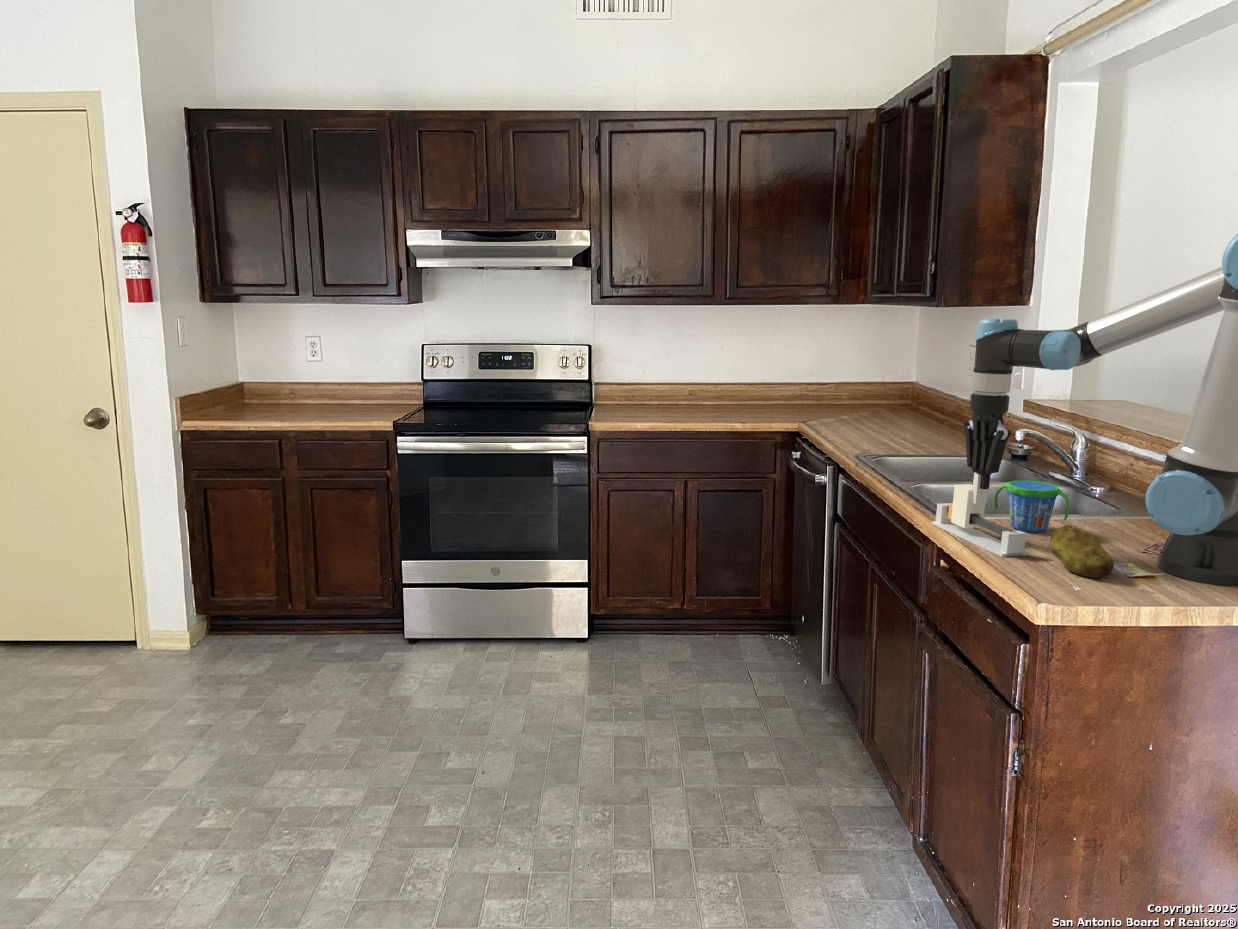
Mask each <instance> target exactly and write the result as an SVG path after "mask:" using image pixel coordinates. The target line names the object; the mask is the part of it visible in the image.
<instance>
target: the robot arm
mask: <svg viewBox="0 0 1238 929" xmlns="http://www.w3.org/2000/svg"><path fill="white" fill-rule="evenodd" d="M1223 311H1224V312H1223ZM1220 312H1223V315H1222V317H1221V321H1220V324H1219V325H1218V326H1219V327H1218V330H1217V331H1216V332H1217V333H1216V336H1215V339H1214V341H1213V345H1212V348H1211V351H1210V354H1209V357H1208V360H1207V363H1206V367H1205V369H1204V372H1203V375H1202V377H1201V381H1200V384H1199V388H1198V390H1197V394H1196V397H1195V400H1194V403H1193V405H1192V408H1191V412H1190V414H1189V418H1188V421H1187V424H1186V428H1185V430H1184V433H1183V436H1182V438H1181V441H1180V443H1179V444H1178V446H1177V445H1176V446H1174V447H1173V448H1170V449H1169V450H1168V451H1167V453H1166V456H1165V459H1164V462H1163V464H1162V468H1161V471H1160V474H1159V475H1158V476H1156V477H1155V478H1154V479H1153V481H1152V482H1151V483H1150V485H1149V486H1148V488H1147V491H1146V493H1145V505H1146V510H1147V512H1148V514H1149V516H1150V517H1151V518H1152V520H1153V522H1155V523H1156V525H1158V526H1159V527H1160V528H1162V529H1163V530H1165V531H1167V532H1170V533H1169V535H1168V537H1167V538H1166V540H1165V543H1164V544H1163V546H1162V549H1160V551H1159V552H1158V555H1157V559H1156V560H1157V561H1156V566H1157V568H1158V569H1160V570H1162V571H1163V572H1166V573H1167V574H1170V575H1173V576H1176V577H1179V578H1182V579H1185V580H1191V581H1196V582H1201V583H1206V584H1207V583H1208V584H1213V585H1224V586H1225V585H1227V586H1238V233H1237V234H1235V235H1234V237H1232V238H1231V240H1230V241H1229V242H1228V244H1227V245H1226V247H1225V250H1224V251H1223V254H1222V259H1221V266H1219V267H1218V268H1216V269H1214V270H1211V271H1208V272H1205V273H1203V274H1200V275H1198V276H1196V277H1193V278H1191V279H1189V280H1186V281H1184V282H1181V283H1179V284H1176V285H1173V286H1171V287H1169V288H1166V289H1164V290H1162V291H1160V292H1157V293H1154V294H1152V295H1150V296H1147V297H1145V298H1143V299H1140V300H1137V301H1135V302H1133V303H1130V304H1128V305H1125V306H1123V307H1120V308H1118V309H1116V310H1113V311H1110V312H1108V313H1106V314H1103V315H1101V316H1098V317H1096V318H1093V319H1091V320H1089V321H1087V322H1082V323H1081V324H1079V325H1076V326H1074V327H1071V328H1068V329H1057V330H1056V329H1054V330H1053V329H1050V330H1048V329H1047V330H1044V329H1022V328H1019V326H1018V325H1019V322H1018V321H1017V319H1015V318H982V319H981V320H980V321H979V323H978V326H977V333H976V338H975V351H974V364H973V370H972V378H971V385H970V390H971V391H973V392H972V393H971V394H970V398H969V399H970V400H969V410H970V411H971V412H973V414H972V416H971V420H969V421H964V422H963V424H962V425H963V429H964V432H965V452H966V453H965V454H966V466H967V467H968V468H971V472H972V481H971V484H972V485H973V489H972V499H971V502H972V503H975V504H983V503H985V504H987V502H988V494H989V489H990V483H991V475H992V474H994V473H995V474H996V473H999V471H1000V467H1001V464H1002V461H1003V457H1004V454H1005V450H1006V447H1007V443H1008V440H1009V438H1011V436H1012V431H1011V430H1010V429H1006V428H1005V427H1004V424H1005V422H1004V414H1006V413H1008V412H1009V407H1010V406H1009V405H1010V395H1008V394H1009V393H1010V392H1011V385H1012V375H1013V371H1014V370H1013V369H1014V367H1023V368H1031V369H1032V368H1033V369H1044V370H1045V369H1046V370H1050V371H1061V370H1063V371H1069V370H1071V369H1073V368H1074V367H1080V366H1083V365H1086V364H1089V363H1090V362H1093V361H1094V360H1095V359H1097V358H1099V357H1102V356H1104V355H1107V354H1109V353H1113V352H1114V351H1117V350H1120V349H1123V348H1125V347H1128V346H1131V345H1134V344H1136V343H1137V344H1138V343H1139V342H1143V341H1145V340H1148V339H1149V338H1153V337H1155V336H1158V335H1160V334H1163V333H1166V332H1169V331H1171V330H1174V329H1177V328H1179V327H1182V326H1185V325H1189V324H1191V323H1193V322H1196V321H1199V320H1201V319H1204V318H1207V317H1210V316H1212V315H1215V314H1217V313H1220Z"/></svg>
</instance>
